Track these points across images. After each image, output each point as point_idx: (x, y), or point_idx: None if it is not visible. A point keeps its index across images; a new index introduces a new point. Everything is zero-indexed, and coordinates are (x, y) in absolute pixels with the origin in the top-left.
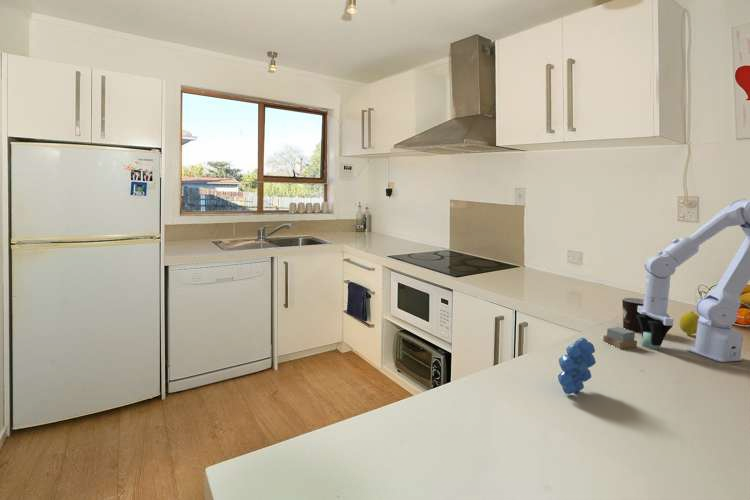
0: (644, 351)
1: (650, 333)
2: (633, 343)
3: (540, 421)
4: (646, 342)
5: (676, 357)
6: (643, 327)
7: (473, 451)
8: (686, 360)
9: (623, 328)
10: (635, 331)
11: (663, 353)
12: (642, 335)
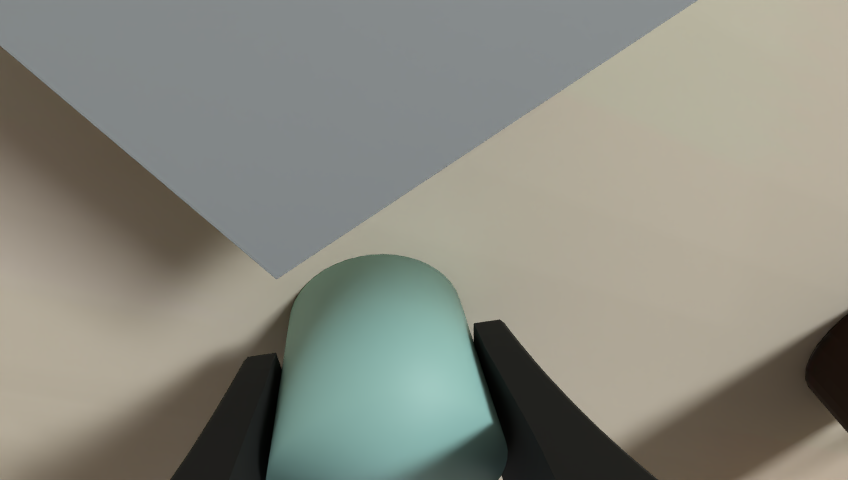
0: (136, 210)
1: (408, 464)
2: None
3: None
4: (321, 320)
5: (107, 432)
6: (545, 476)
7: None
8: (59, 471)
9: (558, 82)
10: (841, 330)
11: (184, 371)
12: (499, 351)
